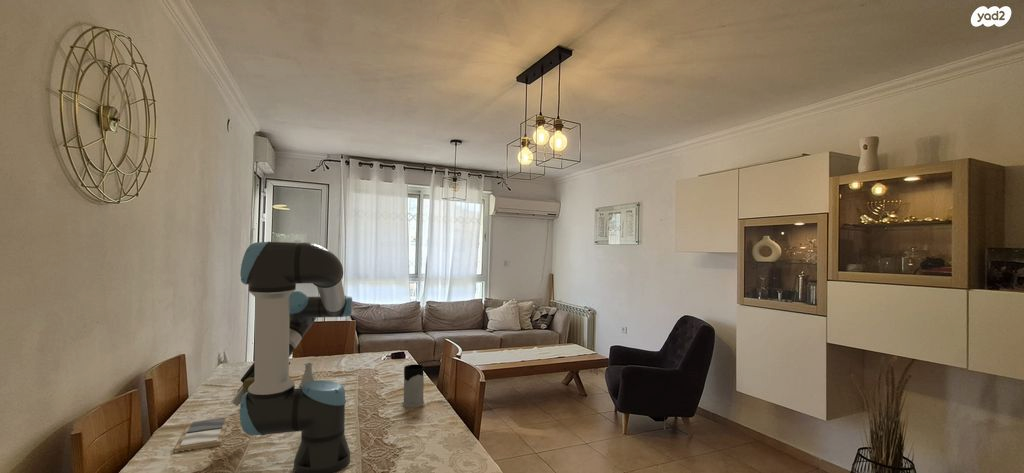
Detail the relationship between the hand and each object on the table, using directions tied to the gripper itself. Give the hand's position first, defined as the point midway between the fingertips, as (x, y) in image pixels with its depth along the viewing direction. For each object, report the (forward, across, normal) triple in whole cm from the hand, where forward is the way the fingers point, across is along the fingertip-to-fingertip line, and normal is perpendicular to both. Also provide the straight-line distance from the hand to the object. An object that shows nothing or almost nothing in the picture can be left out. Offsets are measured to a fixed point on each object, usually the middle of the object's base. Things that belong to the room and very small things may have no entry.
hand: (241, 405), depth 141 cm
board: (+8, -17, +9) cm, 21 cm away
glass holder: (-30, +28, +47) cm, 62 cm away
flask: (-31, -27, +47) cm, 62 cm away
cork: (0, 0, +5) cm, 5 cm away
